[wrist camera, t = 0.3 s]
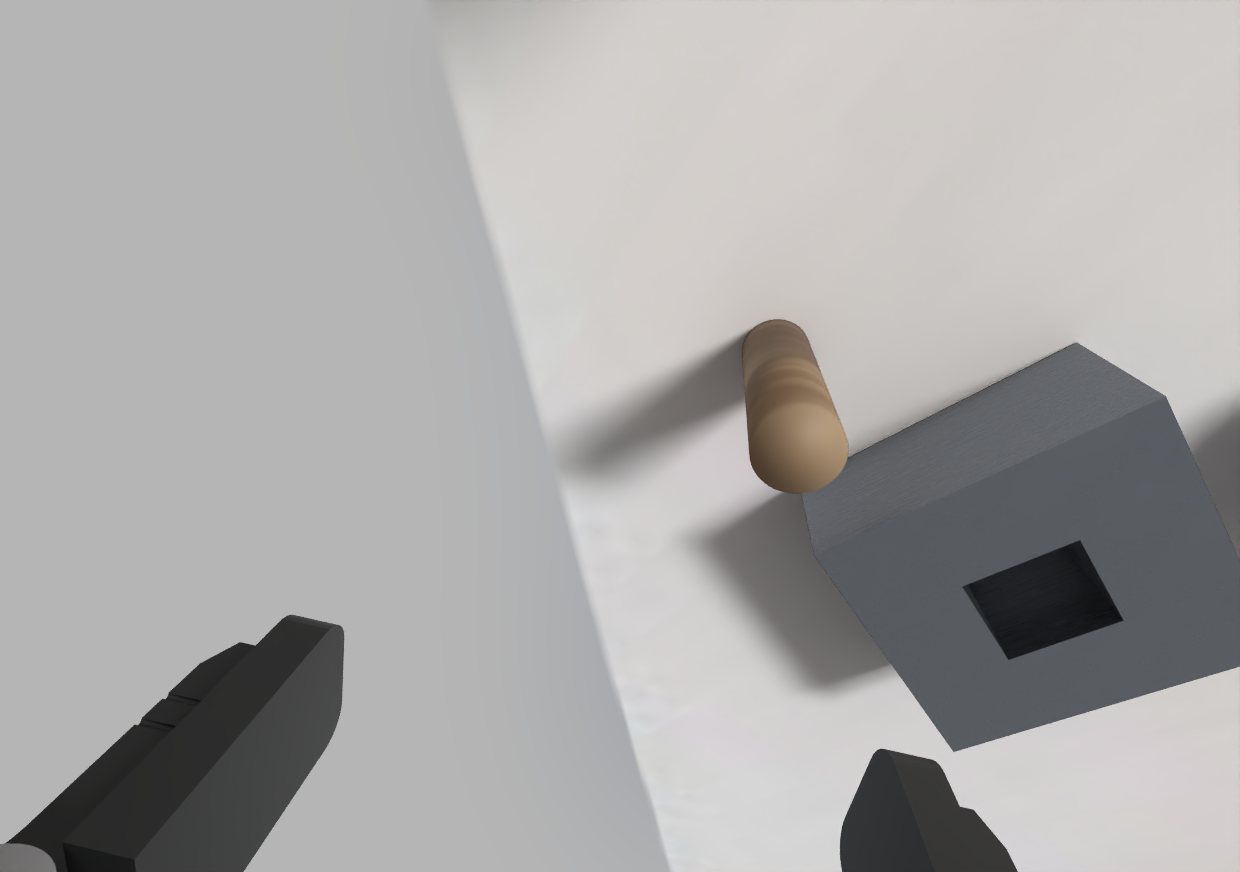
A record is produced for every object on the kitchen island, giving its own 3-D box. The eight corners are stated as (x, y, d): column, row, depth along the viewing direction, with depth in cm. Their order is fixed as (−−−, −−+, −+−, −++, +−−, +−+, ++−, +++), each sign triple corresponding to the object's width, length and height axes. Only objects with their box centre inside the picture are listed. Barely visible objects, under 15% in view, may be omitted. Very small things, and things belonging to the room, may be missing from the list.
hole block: (1076, 342, 26) (1165, 396, 21) (1182, 560, 30) (1281, 653, 25) (799, 482, 31) (814, 555, 26) (918, 656, 35) (953, 751, 29)
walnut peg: (787, 306, 28) (817, 390, 19) (822, 360, 28) (866, 465, 19) (729, 343, 29) (731, 438, 20) (763, 394, 29) (780, 508, 21)
